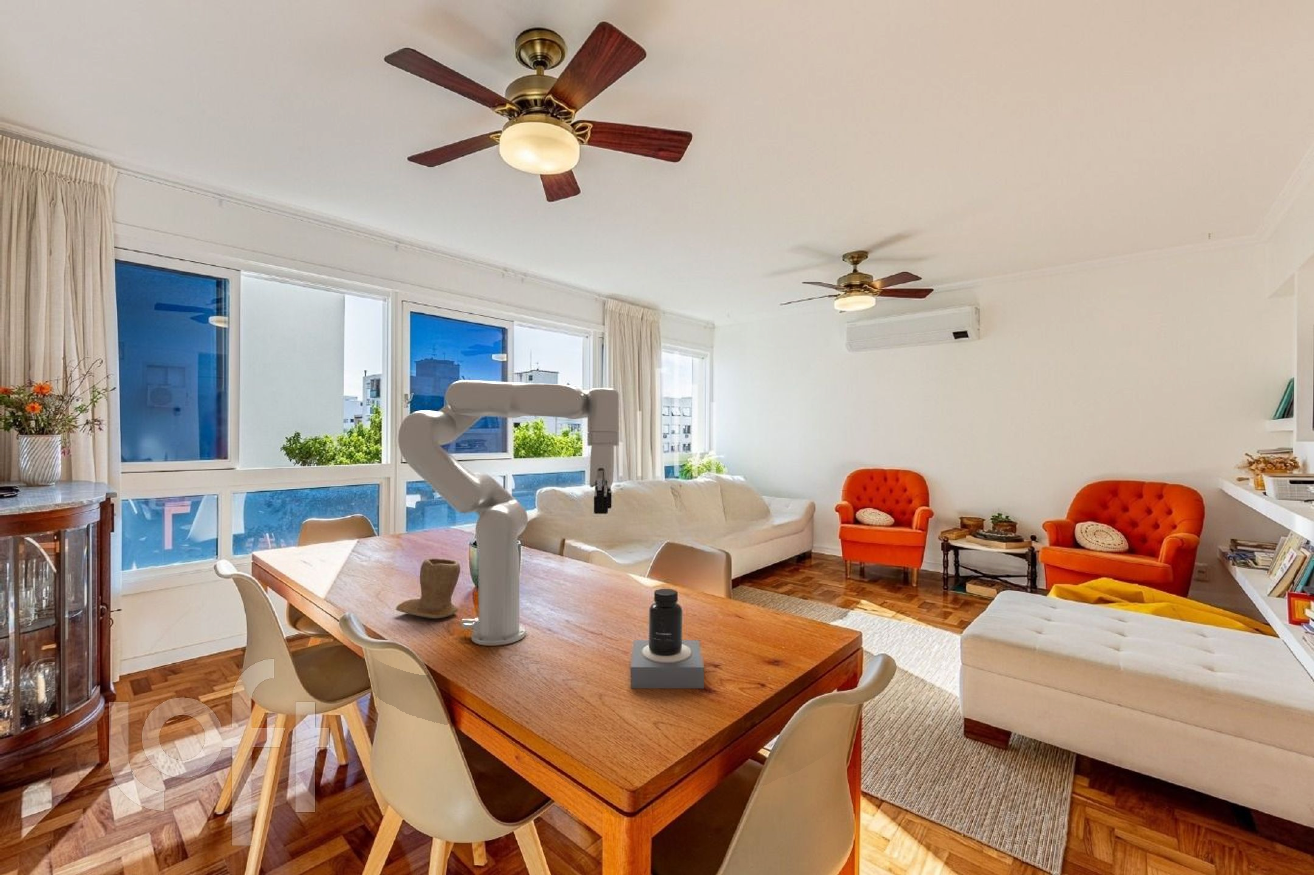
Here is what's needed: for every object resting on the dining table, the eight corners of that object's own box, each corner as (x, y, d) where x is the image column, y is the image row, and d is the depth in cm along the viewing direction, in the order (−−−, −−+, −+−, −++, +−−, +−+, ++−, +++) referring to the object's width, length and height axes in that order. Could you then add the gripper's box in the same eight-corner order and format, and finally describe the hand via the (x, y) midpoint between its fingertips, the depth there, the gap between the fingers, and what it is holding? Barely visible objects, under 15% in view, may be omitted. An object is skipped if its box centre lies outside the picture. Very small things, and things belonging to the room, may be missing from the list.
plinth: (630, 688, 104) (630, 665, 104) (633, 658, 118) (633, 638, 118) (703, 688, 104) (703, 665, 104) (698, 658, 118) (698, 638, 118)
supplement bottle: (658, 659, 107) (657, 597, 107) (643, 647, 113) (643, 589, 113) (688, 653, 110) (688, 593, 110) (672, 641, 116) (672, 585, 116)
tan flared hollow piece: (469, 612, 150) (469, 557, 150) (434, 625, 139) (434, 566, 139) (430, 604, 157) (430, 552, 157) (394, 616, 146) (394, 560, 146)
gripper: (591, 439, 140) (591, 506, 140) (582, 439, 123) (582, 515, 122) (621, 439, 140) (621, 506, 140) (615, 439, 123) (615, 515, 122)
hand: (603, 510), depth 131 cm, fingers open, 9 cm apart
